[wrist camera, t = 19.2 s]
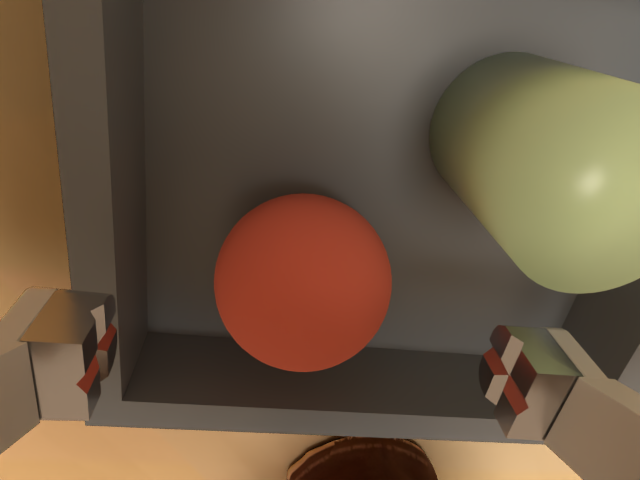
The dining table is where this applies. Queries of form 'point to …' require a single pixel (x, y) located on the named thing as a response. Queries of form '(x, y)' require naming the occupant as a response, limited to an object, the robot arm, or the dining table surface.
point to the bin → (311, 178)
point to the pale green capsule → (547, 166)
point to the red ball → (302, 282)
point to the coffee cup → (364, 461)
